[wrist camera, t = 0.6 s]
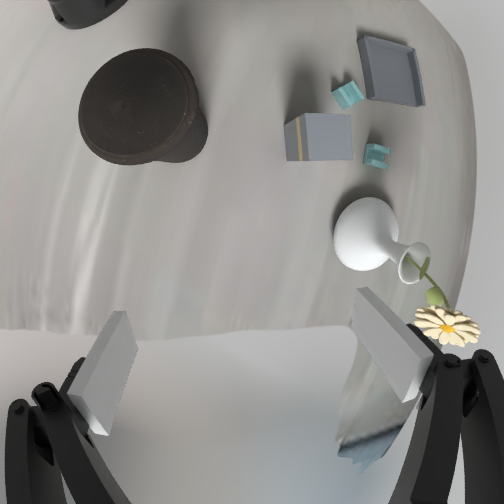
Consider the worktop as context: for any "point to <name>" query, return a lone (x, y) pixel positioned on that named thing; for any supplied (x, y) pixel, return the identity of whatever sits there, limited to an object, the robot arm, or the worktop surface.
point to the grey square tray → (391, 72)
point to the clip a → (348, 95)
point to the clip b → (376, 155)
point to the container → (142, 110)
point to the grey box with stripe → (319, 137)
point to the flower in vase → (406, 258)
